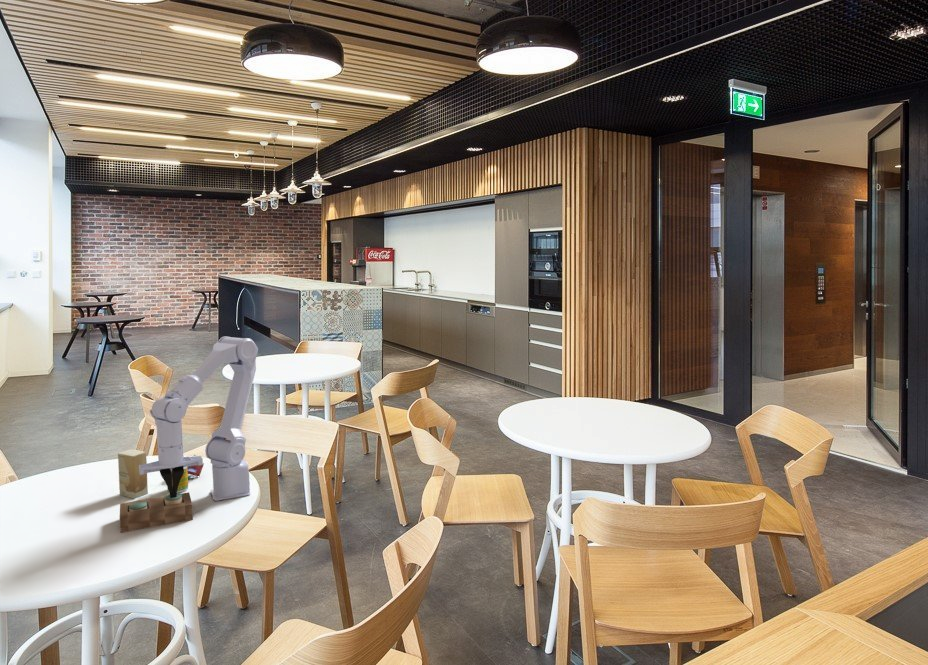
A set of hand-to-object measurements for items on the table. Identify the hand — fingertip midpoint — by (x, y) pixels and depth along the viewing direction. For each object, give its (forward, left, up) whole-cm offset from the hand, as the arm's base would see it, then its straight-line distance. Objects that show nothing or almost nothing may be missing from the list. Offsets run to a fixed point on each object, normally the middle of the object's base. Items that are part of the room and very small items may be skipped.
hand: (173, 496), depth 157 cm
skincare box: (+9, -21, -6) cm, 23 cm away
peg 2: (0, 0, -4) cm, 4 cm away
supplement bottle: (-2, -19, -6) cm, 20 cm away
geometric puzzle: (-6, -28, -6) cm, 29 cm away
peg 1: (+8, 0, -5) cm, 9 cm away
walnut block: (+4, 0, -5) cm, 7 cm away
